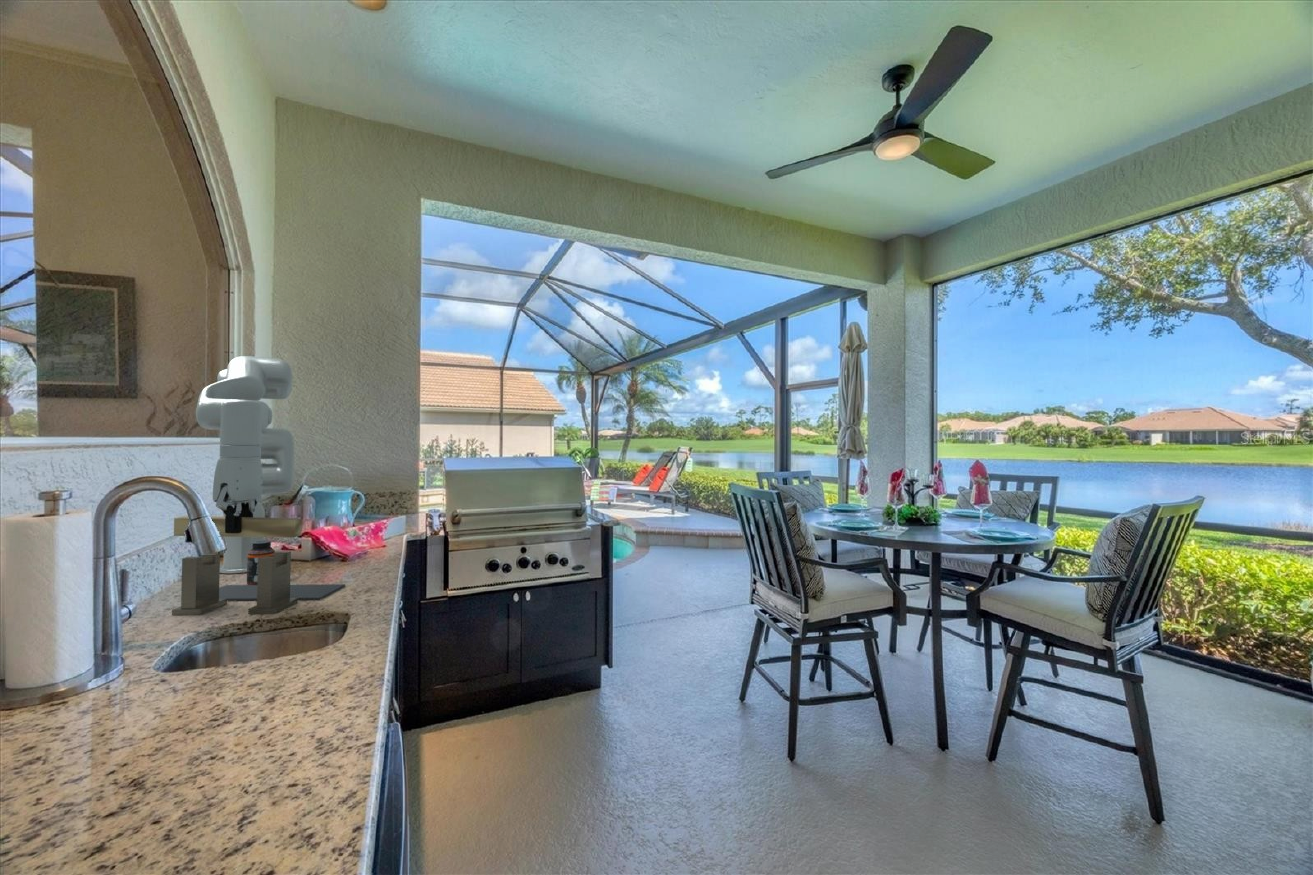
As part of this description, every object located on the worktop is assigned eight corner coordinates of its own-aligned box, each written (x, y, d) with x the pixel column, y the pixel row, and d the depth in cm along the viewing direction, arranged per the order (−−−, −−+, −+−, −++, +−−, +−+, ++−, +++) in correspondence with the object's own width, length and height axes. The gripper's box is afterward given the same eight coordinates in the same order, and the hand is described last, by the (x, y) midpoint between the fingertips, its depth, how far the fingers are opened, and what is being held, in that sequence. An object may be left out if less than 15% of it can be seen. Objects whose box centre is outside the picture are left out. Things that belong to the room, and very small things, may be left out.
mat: (226, 587, 137) (226, 585, 137) (344, 586, 139) (344, 584, 139) (189, 601, 125) (189, 598, 125) (319, 600, 127) (319, 597, 127)
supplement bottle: (262, 586, 138) (263, 544, 138) (240, 586, 138) (241, 543, 139) (279, 580, 144) (280, 539, 144) (258, 580, 144) (259, 539, 145)
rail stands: (200, 603, 123) (201, 551, 123) (297, 602, 125) (298, 551, 125) (171, 615, 115) (173, 558, 115) (276, 614, 117) (277, 558, 117)
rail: (184, 533, 121) (185, 516, 121) (301, 535, 123) (302, 518, 123) (173, 535, 118) (174, 518, 118) (293, 537, 120) (294, 520, 120)
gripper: (248, 451, 128) (246, 525, 129) (195, 453, 112) (193, 538, 112) (280, 451, 129) (278, 525, 129) (232, 454, 113) (230, 538, 113)
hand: (239, 530), depth 121 cm, fingers closed on rail, 3 cm apart
